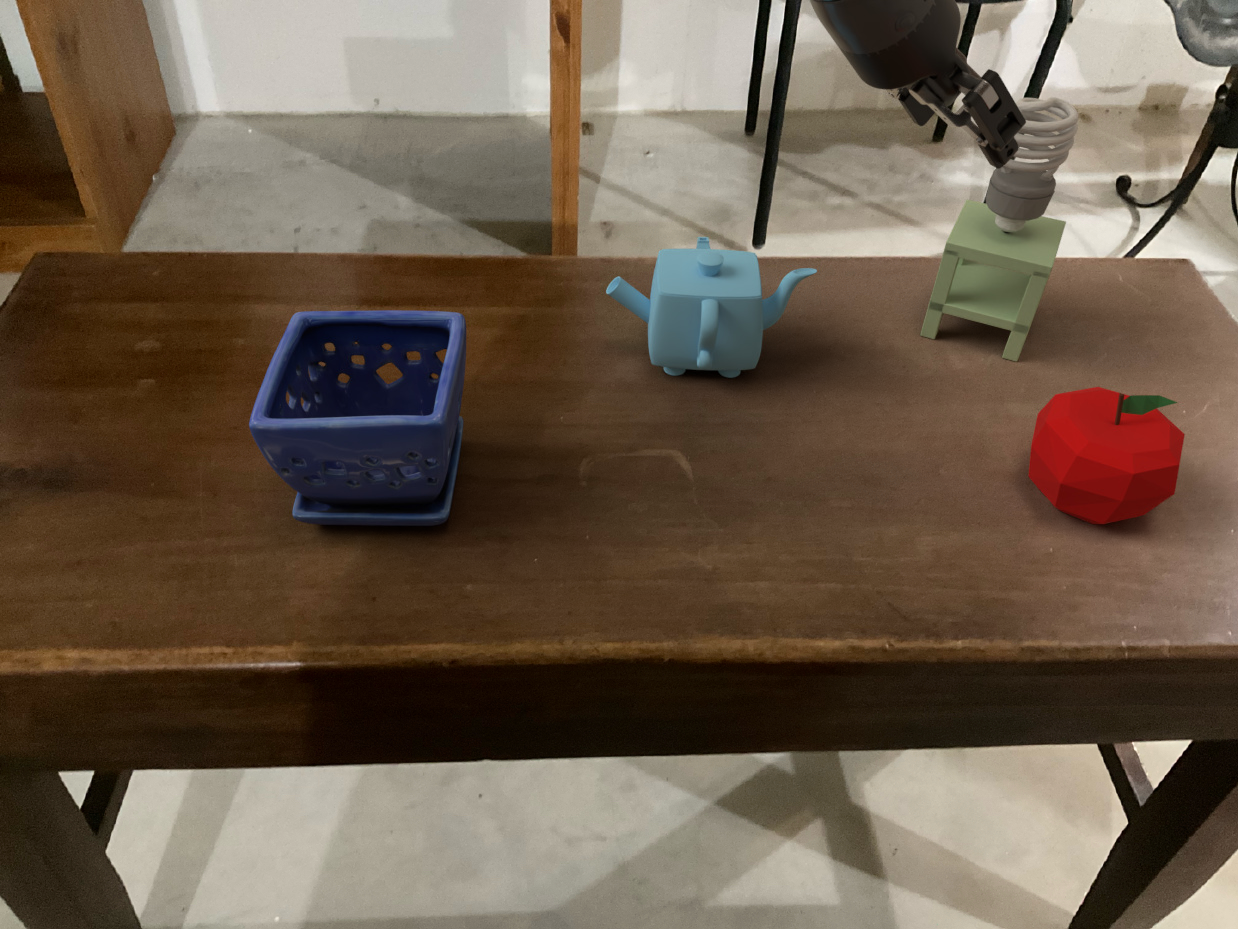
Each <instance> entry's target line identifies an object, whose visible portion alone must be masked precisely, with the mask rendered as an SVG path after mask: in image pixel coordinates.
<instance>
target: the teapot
mask: <svg viewBox="0 0 1238 929" xmlns="http://www.w3.org/2000/svg"><path fill="white" fill-rule="evenodd" d="M695 247H696V248H663V249H660V250H659V251H658V254H657V257H656V262H655V266H654V270H653V276H652V281H651V287H650V296H649V298H648V297H646V296H645V295H644V294H643V293H641V292H640V291H639V290H638V289H636V288H635V287H634V286H633V285H631V284H630V283H629V282H627V281H626V280H625V279H623V277H621V276H616V277H614V278H613V280H611V282H610V283H609V284H608V286H607V288H606V290H605V292H606V293H605V294H607V296H609V297H610V298H612V299H613V300H615V301H616V302H617V303H619V305H621V306H623V307H624V308H625V309H627V310H629V311H630V312H631V313H633V314H634V315H635V316H636V317H638V318H640V319H641V320H642V321H643V322H645V323H647V344H648V345H647V346H648V353H649V359H650V363H651V365H653V366H655V367H662V368H663V371H664V372H665V373H666V374H667V375H670V376H681V375H683V374H684V373H685V372H686V370H694V371H695V370H696V371H717V372H718V373H719V374H720V375H721V376H722V377H724V378H731V379H732V378H736V377H738V376H740V374H741V371H746V370H747V371H748V370H753V369H756V367H757V365H758V362H759V360H760V356H761V353H762V346H763V336H764V334H763V333H764V331H765V330H768V329H770V328H771V327H772V326H774V325H775V324H777V322H778V321H779V320H780V319H781V318H782V316H783V314H784V312H785V310H786V308H787V306H788V303H789V300H790V299H791V295H792V294H793V292H794V290H795V288H796V287H797V285H798V284H799V283H800V282H802V281H803V280H804V279H806V278H808V277H810V276H813V275H815V274H816V273H817V272H818V269H816V268H811V267H803V268H796V269H793V270H791V271H790V272H788V273H786V275H784V277H783V278H782V280H781V281H780V283H779V285H778V287H777V289H776V290H775V292H774V293H772V294H771V295H770V296H768V297H766V298H763V288H762V280H761V279H762V278H761V271H760V264H759V258H758V256H757V254H756V252H752V251H745V250H734V249H719V248H718V249H717V248H716V249H715V248H711V246H710V239H709V236H697V241H696V246H695Z"/></svg>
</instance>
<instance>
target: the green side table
mask: <svg viewBox="0 0 1238 929" xmlns="http://www.w3.org/2000/svg"><path fill="white" fill-rule="evenodd" d="M995 219H996V214H995V213H994V212H992V211H991V210H990V209H989V208H988V206H987V204H986V202H985V203H984V202H980V201H975V200H971V199H966V200H965V201H964V204H963V206H962V208H961V210H960V212H959V214H958V216H957V219H956V221H955V223H954V225H953V227H952V229H951V231H950V234H949V236H948V238H947V240H946V242H945V245H944V249H943V251H942V256H941V259H940V263H939V267H938V269H937V273H936V277H935V280H934V284H933V288H932V292H931V295H930V299H929V301H928V305H927V308H926V313H925V316H924V319H923V323H922V327H921V331H920V335H919V336H920V337H923V338H927V339H931V340H935V339H936V337H937V334H938V333H939V329H940V326H941V322H942V319H943V316H944V314H945V315H948V316H949V315H950V316H954V317H957V318H959V319H960V318H961V319H965V320H969V321H973V322H976V323H980V324H984V325H987V326H992V327H995V328H999V329H1003V330H1007V331H1010V333H1009V337H1008V339H1007V342H1006V344H1005V347H1004V350H1003V353H1002V356H1001V358H1002V359H1005V360H1010V361H1011V362H1012V361H1013V362H1016V363H1017V362H1019V361H1018V360H1019V359H1020V356H1021V354H1022V350H1023V348H1024V345H1025V343H1026V340H1027V337H1028V335H1029V332H1030V329H1031V326H1032V324H1033V321H1034V319H1035V316H1036V313H1037V311H1038V308H1039V306H1040V302H1041V300H1042V297H1043V295H1044V292H1045V289H1046V286H1047V283H1048V281H1049V278H1050V276H1051V273H1052V270H1053V267H1054V265H1055V261H1056V257H1057V255H1058V251H1059V248H1060V244H1061V241H1062V238H1063V235H1064V231H1065V227H1066V224H1067V221H1066V220H1061V219H1057V218H1052V217H1048V216H1044V215H1042V216H1040V217H1039V218H1037V219H1033V220H1029V221H1026V223H1025V224H1024V227H1023V228H1022V229H1021V230H1018V231H1016V232H1012V233H1004V232H1003V231H1002V230H1001V229H999V228H998V226H997V225H996V223H995Z"/></svg>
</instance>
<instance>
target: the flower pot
mask: <svg viewBox="0 0 1238 929" xmlns="http://www.w3.org/2000/svg"><path fill="white" fill-rule="evenodd" d="M326 344H332V345H333V347H334V350H328V349H327V348H326ZM384 345H389V346H391V347H390V348H389V349H387V348H385V347H384ZM444 350H446V353H445V356H444V360H443V362H442V360H441V359H440V357H439V356H438V354H437V353H439V352H441V351H444ZM410 352H411V353H415V352H416V353H418V354H419V358H420V359H409V357H408V353H410ZM353 356H361V357H363V362H364V364H361V363H355V362H354V361H353V360H352V357H353ZM466 362H467V323H466V318H465V316H464V315H463V313H461V312H455V311H441V310H440V311H439V310H398V309H397V310H395V309H391V310H390V309H389V310H386V309H385V310H311V311H309V310H308V311H307V310H306V311H298V312H294V314H293V315H292V316H291V318H290V321H289V322H288V324H287V326H286V328H285V330H284V332H283V335H282V336H281V339H280V341H279V343H278V346H277V347H276V349H275V351H274V354H273V356H272V358H271V360H270V363H269V365H268V367H267V370H266V372H265V375H264V378H263V380H262V382H261V385H260V387H259V389H258V390H259V391H258V393H257V396H256V398H255V401H254V405H253V408H252V411H251V414H250V418H249V422H248V427H249V431H250V433H251V436H252V438H253V440H254V442H255V444H256V446H257V448H258V449H259V451H260V453H261V454H262V456H263V458H264V459H265V460H266V462H267V463H268V464H269V466H270V467H271V469H272V470H273V471H274V472H275V473H276V475H277V476H279V478H280V479H282V480H283V481H284V482H285V484H287V485H288V486H289V487H290V488H292V489H293V490H294V491H295V492H297V493H296V496H295V499H294V502H293V506H292V511H291V512H292V513H291V515H292V518H293V519H294V520H296V521H298V522H301V523H304V524H309V525H322V526H323V525H324V526H325V525H326V526H397V527H398V526H401V527H405V526H406V527H408V526H409V527H415V526H416V527H425V526H426V527H429V526H438V525H439V526H440V525H441V524H444V523H445V522H446V521H447V520H448V519H449V516H450V512H451V507H452V503H453V496H454V490H455V485H456V479H457V473H458V467H459V460H460V456H461V448H462V442H463V441H462V440H463V434H464V418H463V417H462V416H461V415H460V414H461V409H462V400H463V393H464V386H465V377H466V376H465V375H466ZM320 363H323V364H324V365H321V364H320ZM390 363H391V364H392V365H394V367H395V368H396V369H397V370H398V371H399V372H400V373H401V374H402V375H401V377H399V378H397V379H396V380H394V381H392V382H390V383H387V382H386V381H385V379H383V378H382V376H380V374H379V373H378V372H377V371H378V370H379V369H381V368H382V367H383V366H386V365H387V364H390ZM341 374H344V375H346V376H347V377H349V378H348V380H347V382H343V381H341V380H339V377H340V375H341ZM433 374H434V375H437V378H435V377H433V376H432V375H433ZM287 394H288V397H289V401H287ZM302 400H303V404H302Z"/></svg>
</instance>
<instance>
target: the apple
mask: <svg viewBox="0 0 1238 929" xmlns="http://www.w3.org/2000/svg"><path fill="white" fill-rule="evenodd" d="M1178 403H1179V402H1177V401H1176V400H1173V399H1170V398H1167V397H1164V396H1162V395H1158V394H1141V395H1139V394H1138V395H1136V394H1134V395H1133V394H1132V395H1130V394H1126V393H1122V392H1118V391H1115V390H1111V389H1107V388H1105V387H1100V386H1094V387H1088V388H1083V389H1077V390H1071V391H1066V392H1062V393H1061V392H1060V393H1056V394H1054V395H1053V397H1051V399H1050V400H1049V401H1048V402H1047V403H1046V404H1045V405H1044V406H1043V407H1042V408H1041V409H1040V411H1038V413H1037V416H1036V420H1035V426H1034V429H1033V436H1032V441H1031V444H1030V454H1029V455H1030V456H1029V464H1028V475H1027V477H1028V478H1029V479H1030V480H1031V482H1032V483H1033V484H1034V485H1035V487H1036V488H1037V489H1038V491H1040V492H1041V493H1042V495H1044V496H1045V497H1046V499H1047V500H1048V501H1049V502H1050V503H1051V505H1052V506H1053V507H1054V508H1055V509H1057V510H1058V511H1059V512H1062V513H1064V514H1067V515H1069V516H1071V517H1074V518H1076V519H1079V520H1082V521H1084V522H1087V523H1090V524H1092V525H1105V524H1110V523H1114V522H1115V523H1116V522H1121V521H1124V520H1128V519H1129V520H1130V519H1133V518H1137V517H1143V516H1145V515H1146V514H1148V513H1149V512H1151V511H1152V510H1154V509H1155V508H1156V507H1158V506H1160V505H1161V504H1162V503H1164V502H1165V501H1167V500H1168V499H1169V498H1171V497H1173V496H1174V495H1175V494H1176V488H1177V482H1178V476H1179V471H1180V464H1181V459H1182V452H1183V446H1184V440H1185V435H1186V434H1185V432H1183V431H1182V430H1181V429H1180V428H1179V427H1178V426H1177V425H1175V423H1173V422H1172V421H1171V420H1170V419H1169V418H1168V417H1167V416H1165V414H1164V413H1163V412H1162V411H1160V410H1159V408H1163V407H1167V406H1171V405H1174V404H1178Z"/></svg>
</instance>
